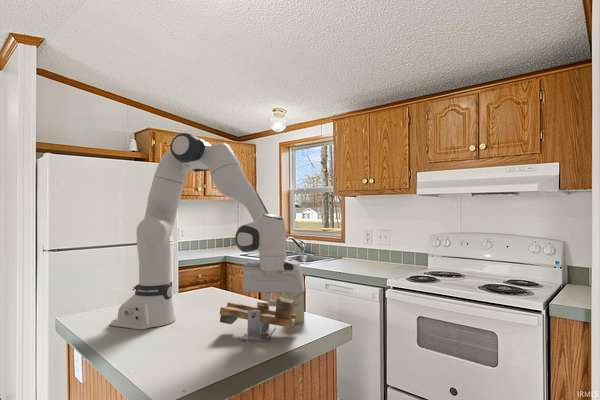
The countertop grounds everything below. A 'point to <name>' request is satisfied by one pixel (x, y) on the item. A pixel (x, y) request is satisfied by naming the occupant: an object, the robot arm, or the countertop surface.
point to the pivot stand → (258, 326)
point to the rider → (284, 308)
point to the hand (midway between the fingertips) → (273, 306)
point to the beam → (241, 311)
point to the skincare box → (297, 305)
